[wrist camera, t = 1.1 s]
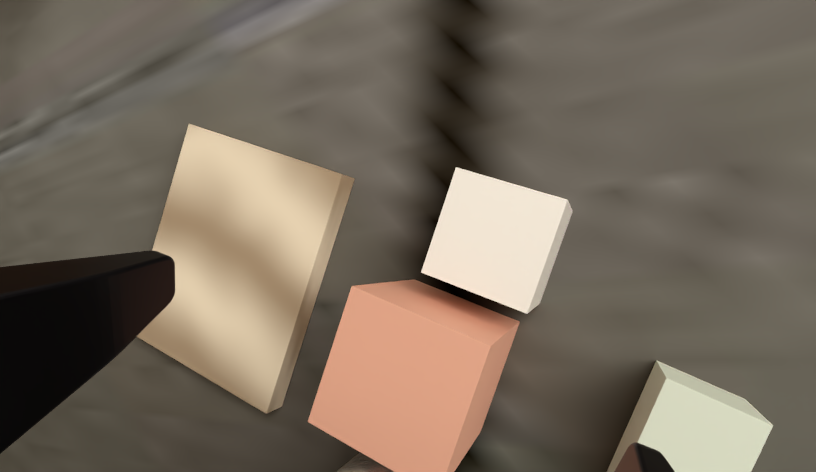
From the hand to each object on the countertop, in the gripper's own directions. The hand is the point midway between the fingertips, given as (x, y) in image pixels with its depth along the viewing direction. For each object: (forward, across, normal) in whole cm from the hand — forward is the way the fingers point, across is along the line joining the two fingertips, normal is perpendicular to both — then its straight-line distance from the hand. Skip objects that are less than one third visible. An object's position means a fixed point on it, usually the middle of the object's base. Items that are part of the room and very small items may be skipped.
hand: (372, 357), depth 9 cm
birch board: (+12, +12, +8) cm, 18 cm away
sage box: (+9, -9, +7) cm, 15 cm away
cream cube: (+12, -1, +2) cm, 13 cm away
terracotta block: (+10, 0, +7) cm, 13 cm away
